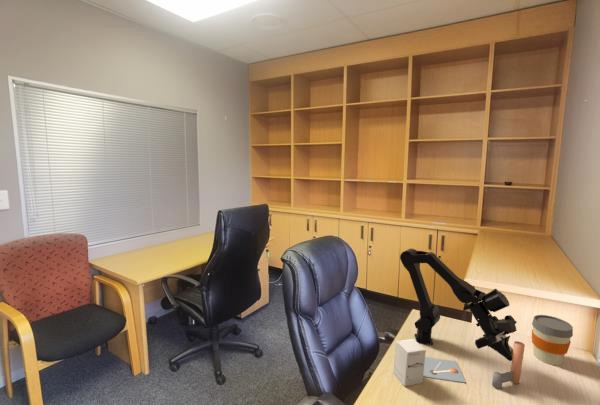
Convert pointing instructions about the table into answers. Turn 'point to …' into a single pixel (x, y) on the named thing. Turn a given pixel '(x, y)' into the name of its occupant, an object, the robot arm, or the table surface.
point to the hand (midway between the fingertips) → (511, 360)
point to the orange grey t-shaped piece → (515, 368)
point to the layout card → (442, 370)
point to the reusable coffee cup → (550, 339)
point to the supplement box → (409, 362)
